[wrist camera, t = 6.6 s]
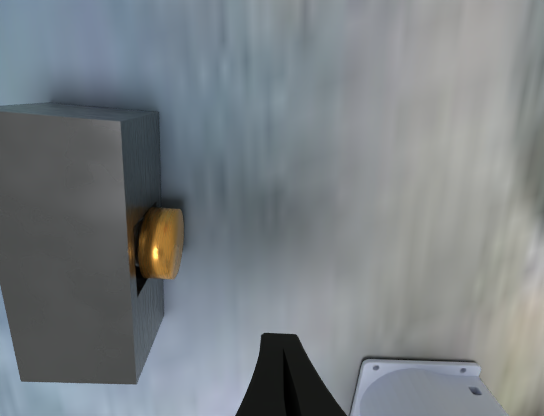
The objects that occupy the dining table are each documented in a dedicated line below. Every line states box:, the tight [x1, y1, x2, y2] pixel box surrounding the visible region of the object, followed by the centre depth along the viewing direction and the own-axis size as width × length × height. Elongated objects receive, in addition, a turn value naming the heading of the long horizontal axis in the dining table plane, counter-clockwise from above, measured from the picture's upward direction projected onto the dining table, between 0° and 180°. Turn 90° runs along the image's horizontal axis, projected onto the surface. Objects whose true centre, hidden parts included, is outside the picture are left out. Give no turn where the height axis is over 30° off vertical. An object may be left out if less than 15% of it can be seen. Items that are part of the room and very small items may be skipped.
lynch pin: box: [133, 207, 184, 279], centre depth 19 cm, size 12×4×4 cm, turn 85°
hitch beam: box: [0, 103, 164, 384], centre depth 18 cm, size 6×14×6 cm, turn 175°
